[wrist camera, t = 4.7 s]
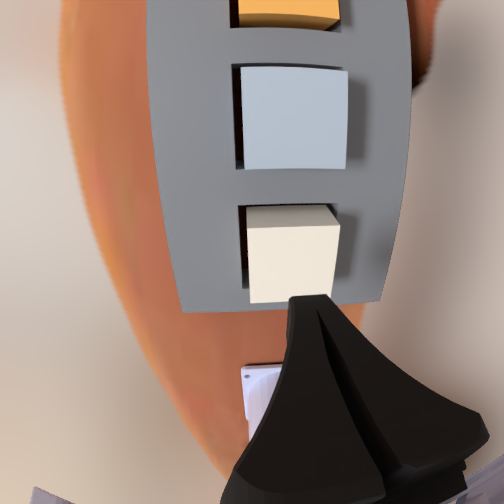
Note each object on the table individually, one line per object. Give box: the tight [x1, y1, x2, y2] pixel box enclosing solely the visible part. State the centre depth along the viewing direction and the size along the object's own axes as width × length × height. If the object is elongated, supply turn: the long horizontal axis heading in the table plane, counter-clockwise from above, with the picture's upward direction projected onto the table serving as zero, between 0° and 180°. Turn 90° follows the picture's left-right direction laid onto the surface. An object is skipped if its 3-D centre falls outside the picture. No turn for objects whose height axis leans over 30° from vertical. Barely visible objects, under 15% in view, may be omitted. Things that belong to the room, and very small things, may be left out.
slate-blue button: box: [241, 67, 348, 170], centre depth 11 cm, size 4×4×2 cm
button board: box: [146, 0, 412, 313], centre depth 12 cm, size 21×12×2 cm, turn 2°
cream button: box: [246, 205, 340, 303], centre depth 14 cm, size 4×4×2 cm
